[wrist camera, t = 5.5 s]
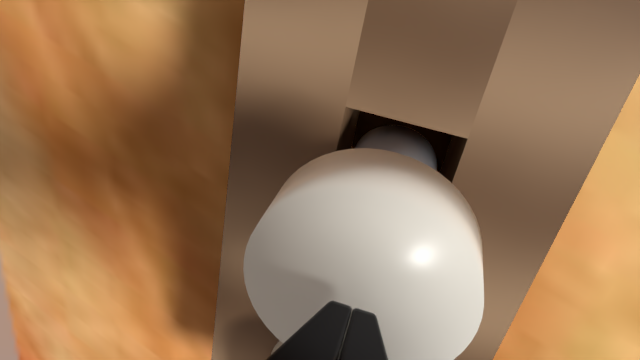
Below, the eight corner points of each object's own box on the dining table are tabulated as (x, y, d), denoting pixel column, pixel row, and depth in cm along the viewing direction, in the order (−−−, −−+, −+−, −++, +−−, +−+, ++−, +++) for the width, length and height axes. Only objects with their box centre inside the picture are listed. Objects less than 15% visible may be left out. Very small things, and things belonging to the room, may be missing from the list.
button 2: (449, 250, 15) (441, 407, 11) (304, 207, 16) (233, 338, 11) (504, 110, 13) (524, 231, 8) (330, 66, 14) (256, 156, 9)
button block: (434, 397, 23) (428, 483, 20) (243, 334, 24) (207, 405, 21) (787, -380, 10) (944, -518, 7) (348, -432, 12) (298, -571, 8)
